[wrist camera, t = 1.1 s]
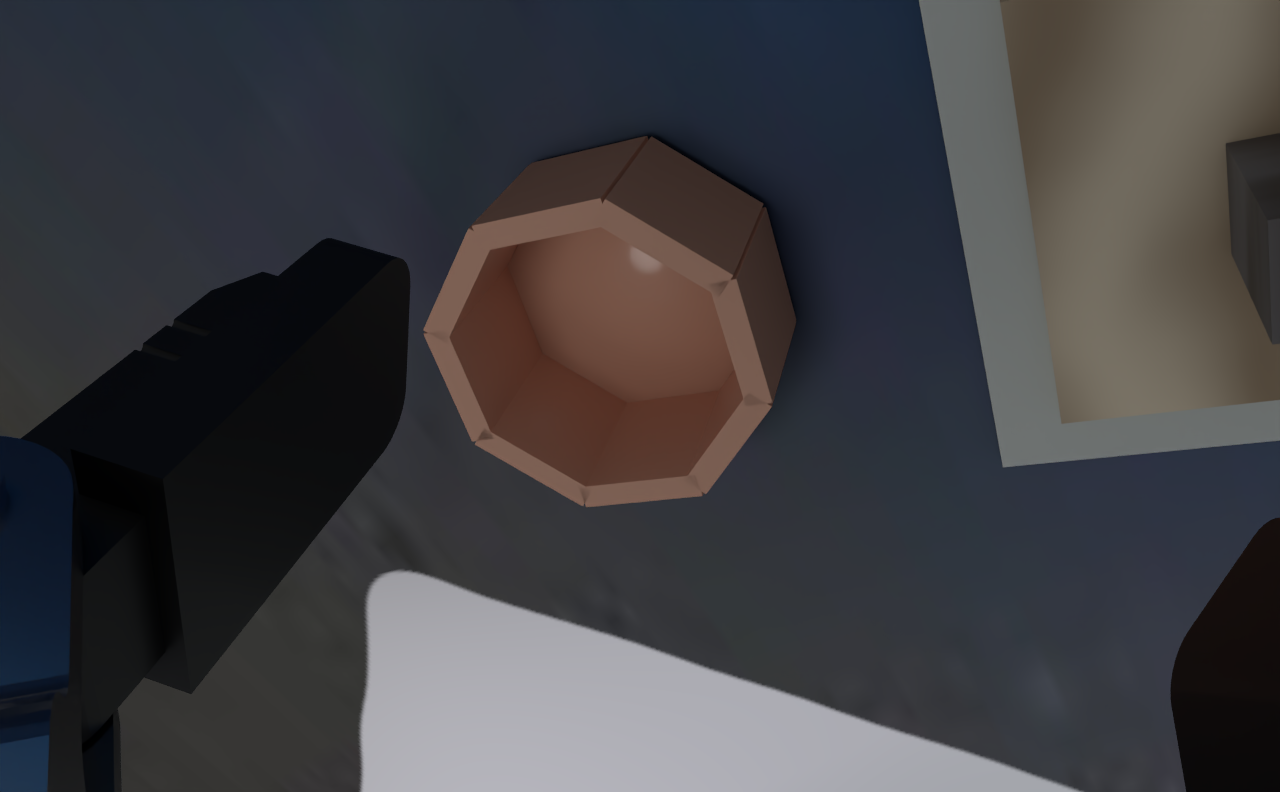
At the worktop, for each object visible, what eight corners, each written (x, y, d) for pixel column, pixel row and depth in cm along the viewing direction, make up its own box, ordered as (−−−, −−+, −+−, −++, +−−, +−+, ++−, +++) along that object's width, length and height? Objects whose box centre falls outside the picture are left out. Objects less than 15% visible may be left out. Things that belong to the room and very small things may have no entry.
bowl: (743, 108, 32) (706, 175, 28) (818, 390, 36) (797, 486, 32) (457, 176, 36) (382, 245, 31) (557, 424, 40) (505, 514, 36)
